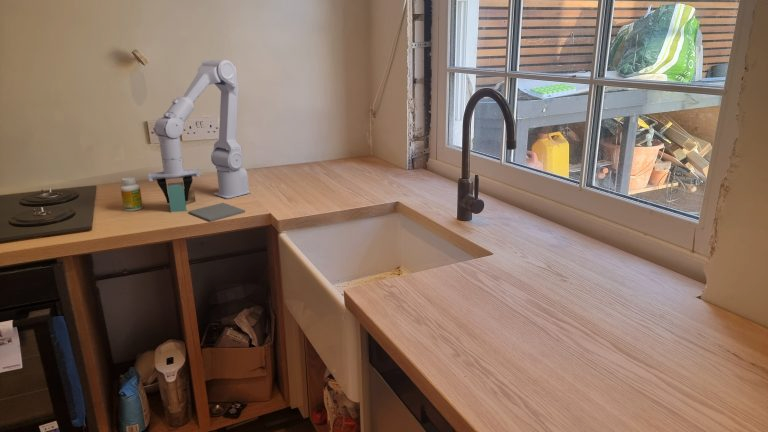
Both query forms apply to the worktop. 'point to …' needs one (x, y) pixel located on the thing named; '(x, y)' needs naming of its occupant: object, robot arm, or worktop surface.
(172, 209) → the teal block
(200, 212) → the slate mat
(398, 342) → the worktop surface
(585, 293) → the worktop surface
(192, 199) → the walnut block
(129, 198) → the supplement bottle
